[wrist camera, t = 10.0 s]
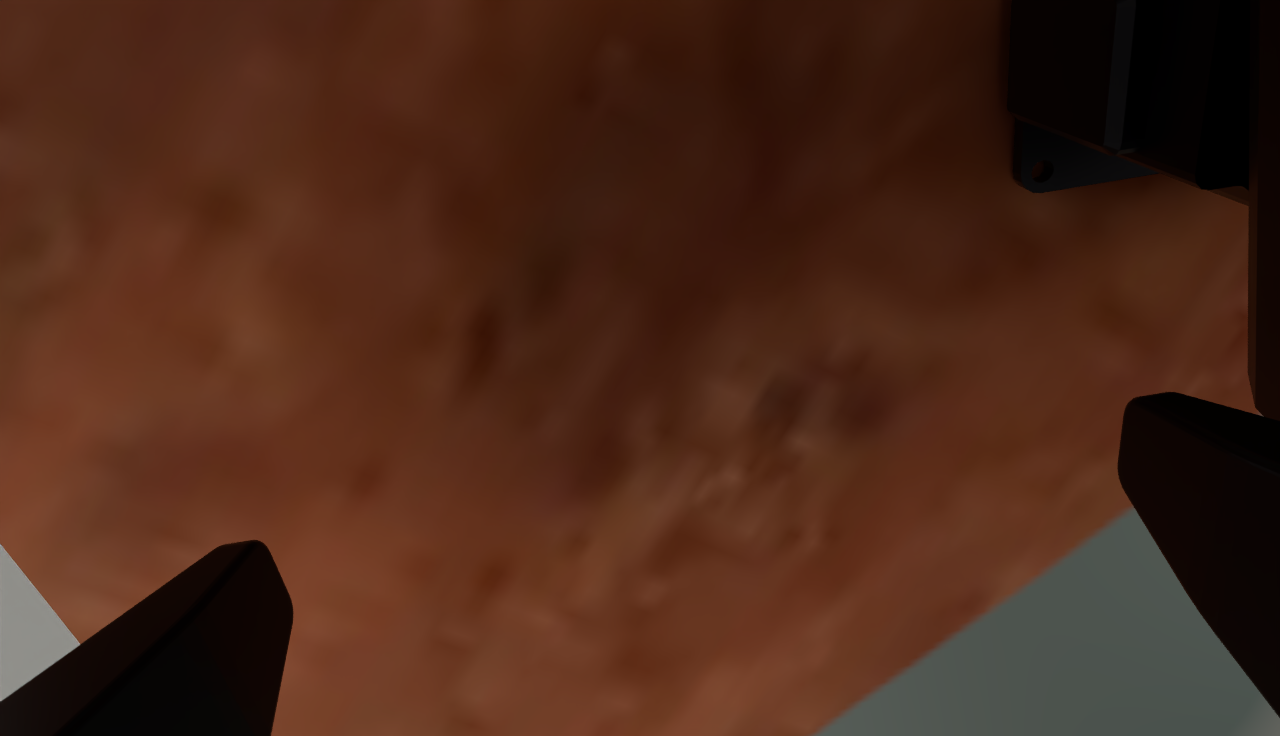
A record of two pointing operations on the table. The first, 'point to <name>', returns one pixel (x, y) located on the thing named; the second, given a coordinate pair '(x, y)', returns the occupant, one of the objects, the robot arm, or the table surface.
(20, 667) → the crown molding
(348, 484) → the table surface
